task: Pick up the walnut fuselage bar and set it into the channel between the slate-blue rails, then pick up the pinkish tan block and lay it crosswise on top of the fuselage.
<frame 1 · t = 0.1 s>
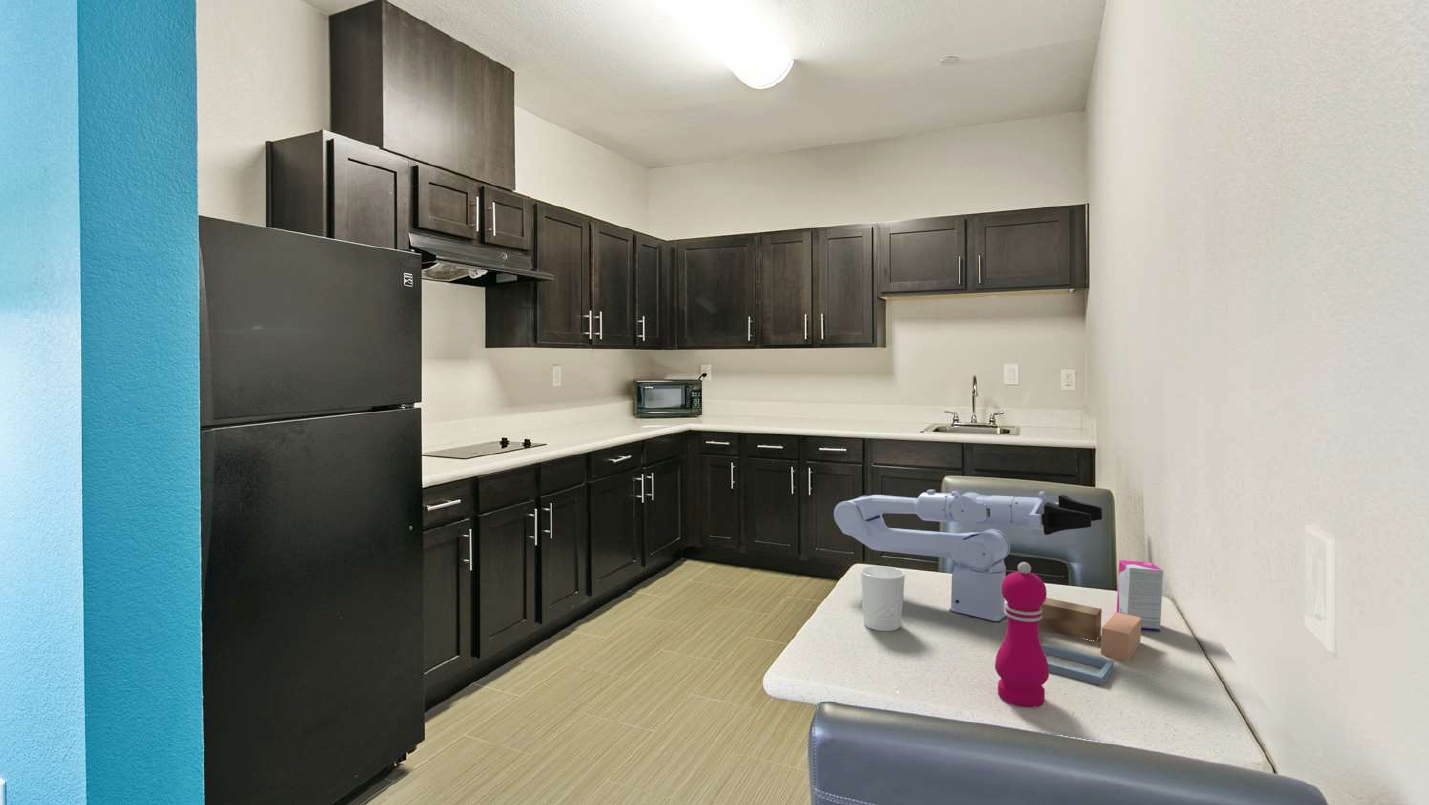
hand: (1096, 517, 126), 22 cm above the table, tool horizontal, fingers open, 7 cm apart
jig: (1059, 664, 116), on the table
pepper mill: (1020, 699, 104), on the table
fuselage: (1064, 632, 130), on the table
pinkish tan block: (1120, 649, 122), on the table
supplement box: (1137, 626, 133), on the table
white cup: (882, 626, 133), on the table
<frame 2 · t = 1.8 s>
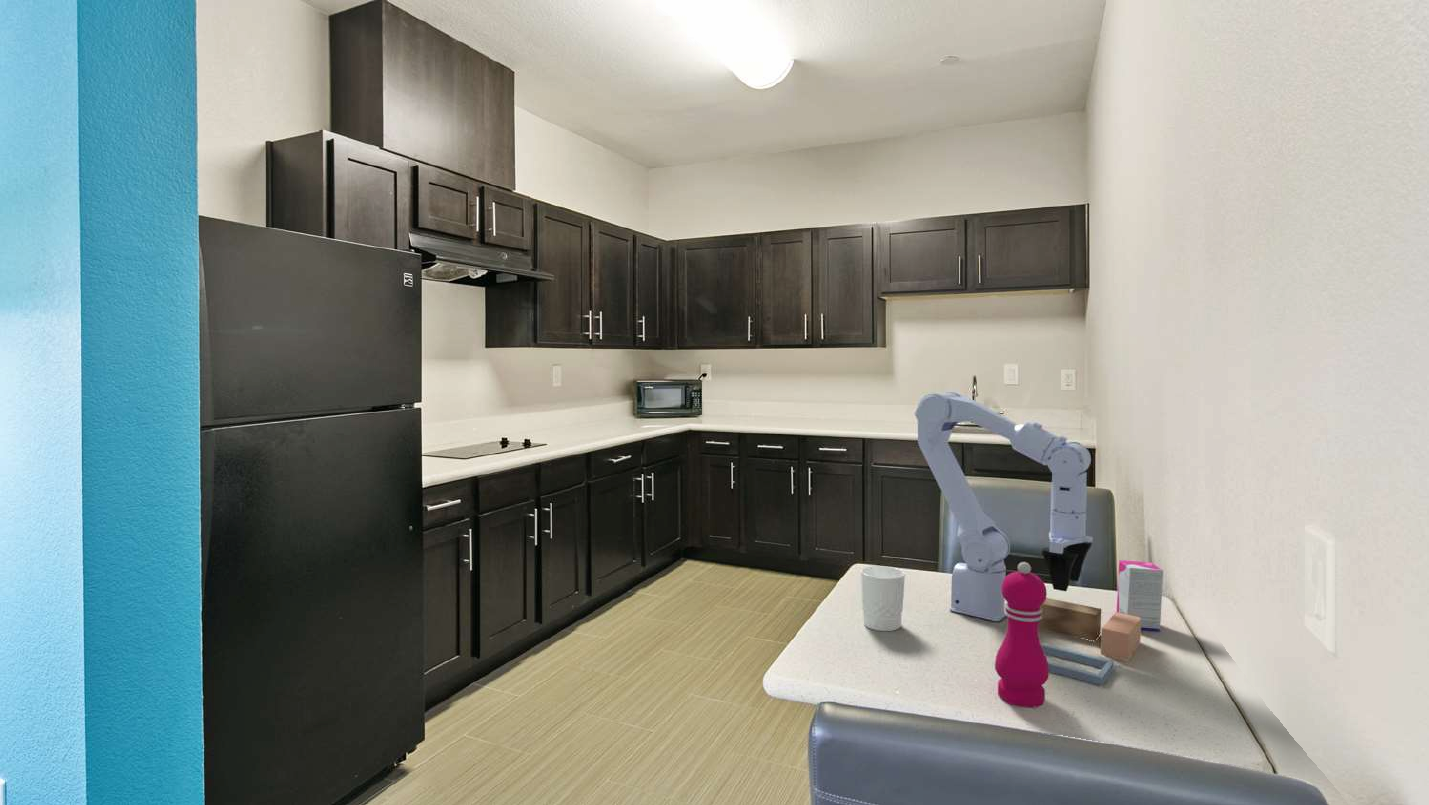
hand: (1066, 584, 130), 9 cm above the table, tool pointing down, fingers open, 7 cm apart
nothing on the table moved.
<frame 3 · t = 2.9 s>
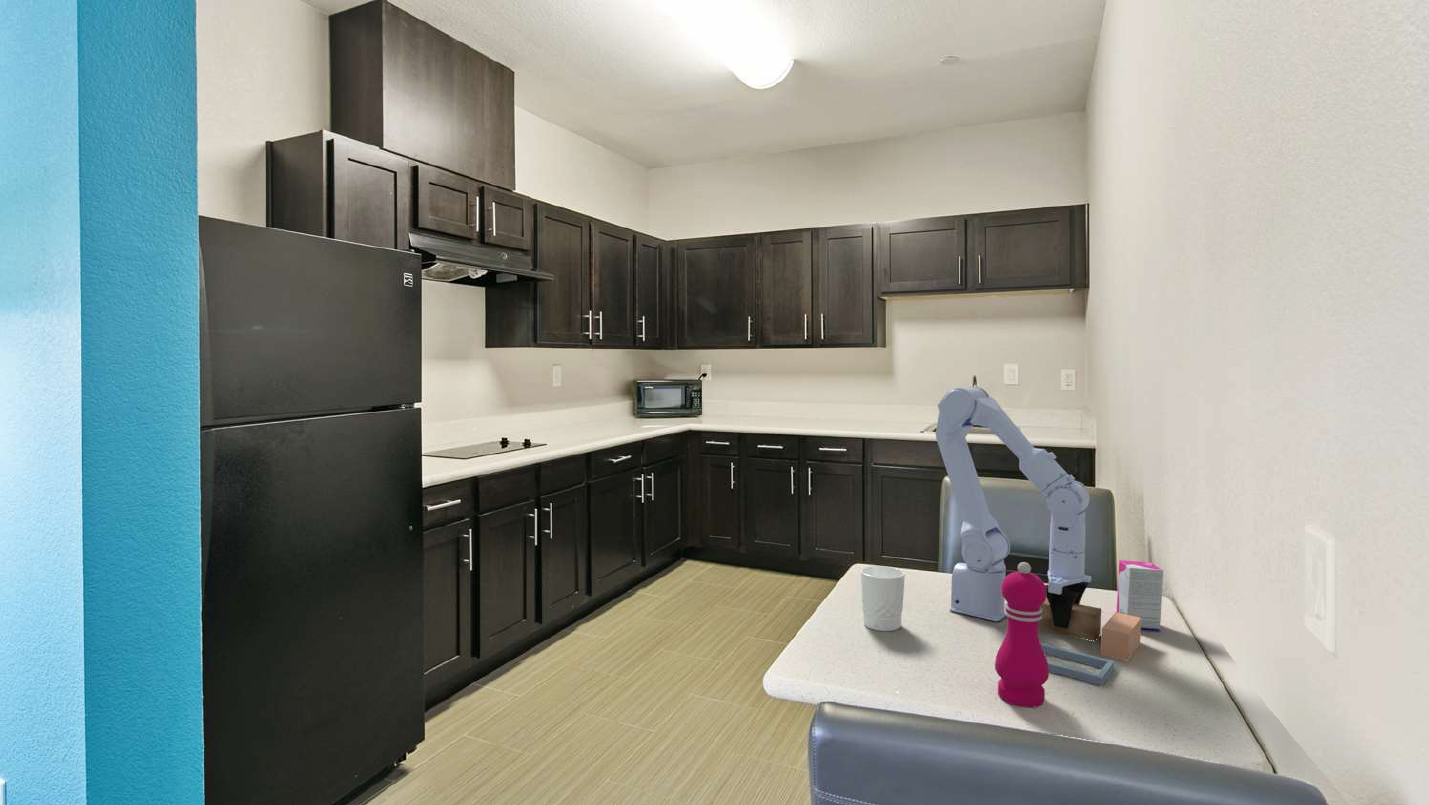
hand: (1064, 623, 130), 1 cm above the table, tool pointing down, fingers closed on fuselage, 4 cm apart
fuselage: (1064, 631, 130), on the table, touching gripper
everything else where it was.
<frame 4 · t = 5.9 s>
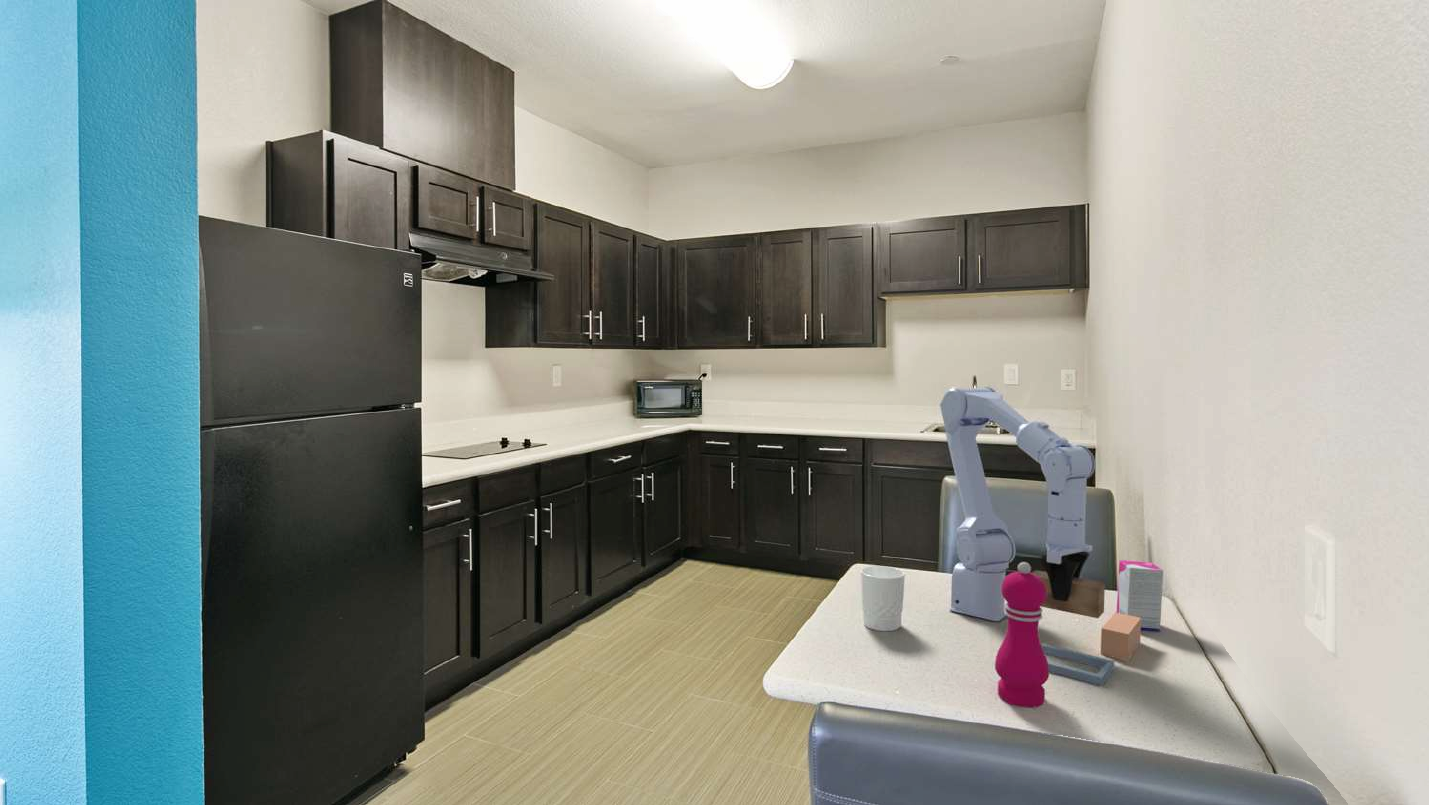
hand: (1064, 596, 122), 9 cm above the table, tool pointing down, fingers closed on fuselage, 4 cm apart
fuselage: (1065, 607, 122), point 7 cm above the table, touching gripper
everything else where it was.
when the fingers open (3 cm above the table, at t = 8.7 s): fuselage drops 1 cm, resting in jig.
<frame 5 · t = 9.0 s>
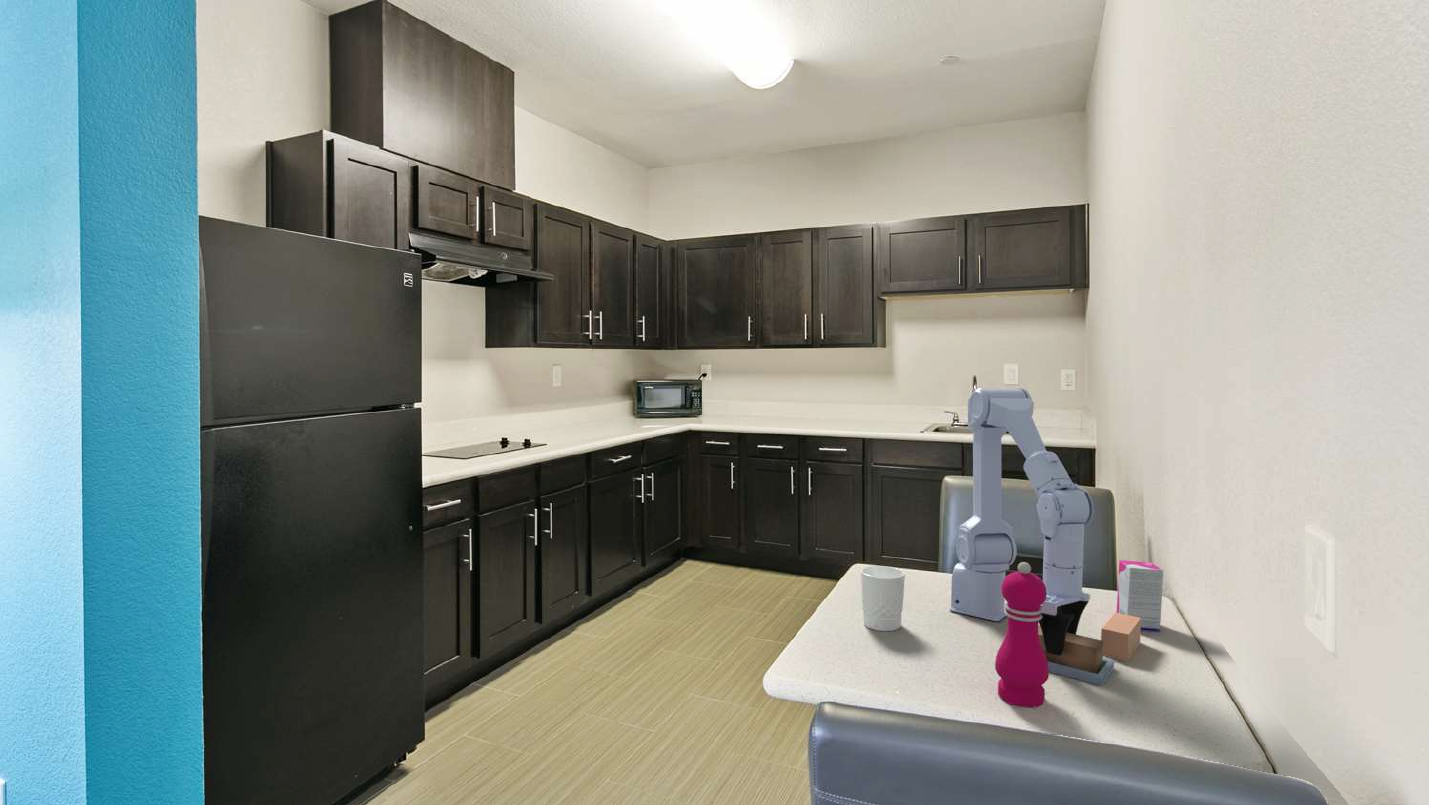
hand: (1060, 646, 116), 3 cm above the table, tool pointing down, fingers open, 6 cm apart
fuselage: (1061, 666, 116), resting in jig
everything else where it was.
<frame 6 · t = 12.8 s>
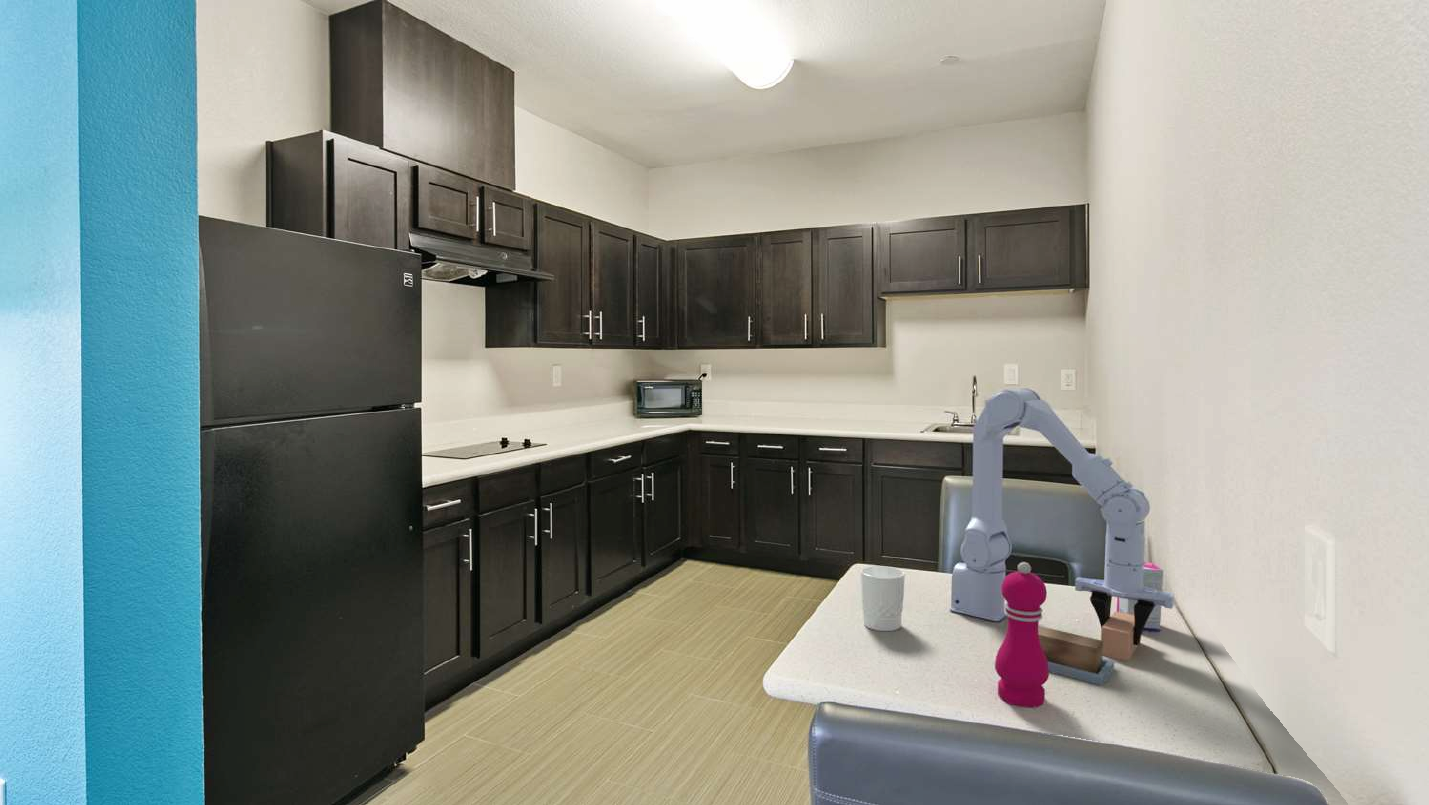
hand: (1121, 639, 122), 1 cm above the table, tool pointing down, fingers closed on pinkish tan block, 4 cm apart
pinkish tan block: (1120, 648, 122), on the table, touching gripper
everything else where it was.
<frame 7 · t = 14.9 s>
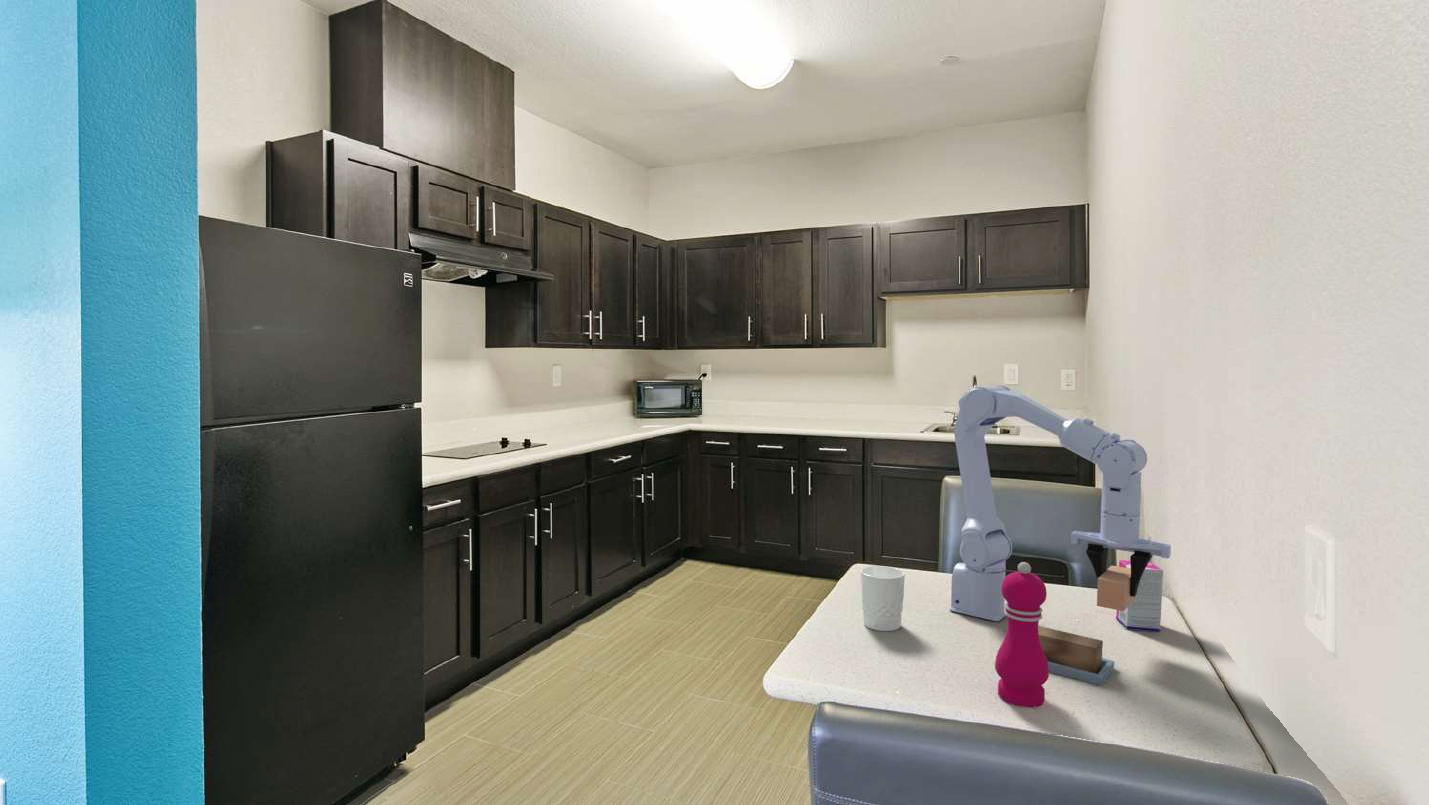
hand: (1117, 592, 121), 10 cm above the table, tool pointing down, fingers closed on pinkish tan block, 4 cm apart
pinkish tan block: (1117, 600, 121), point 8 cm above the table, touching gripper
everything else where it was.
when the fingers open (7 cm above the table, at t = 17.3 s): pinkish tan block drops 1 cm, resting on fuselage.
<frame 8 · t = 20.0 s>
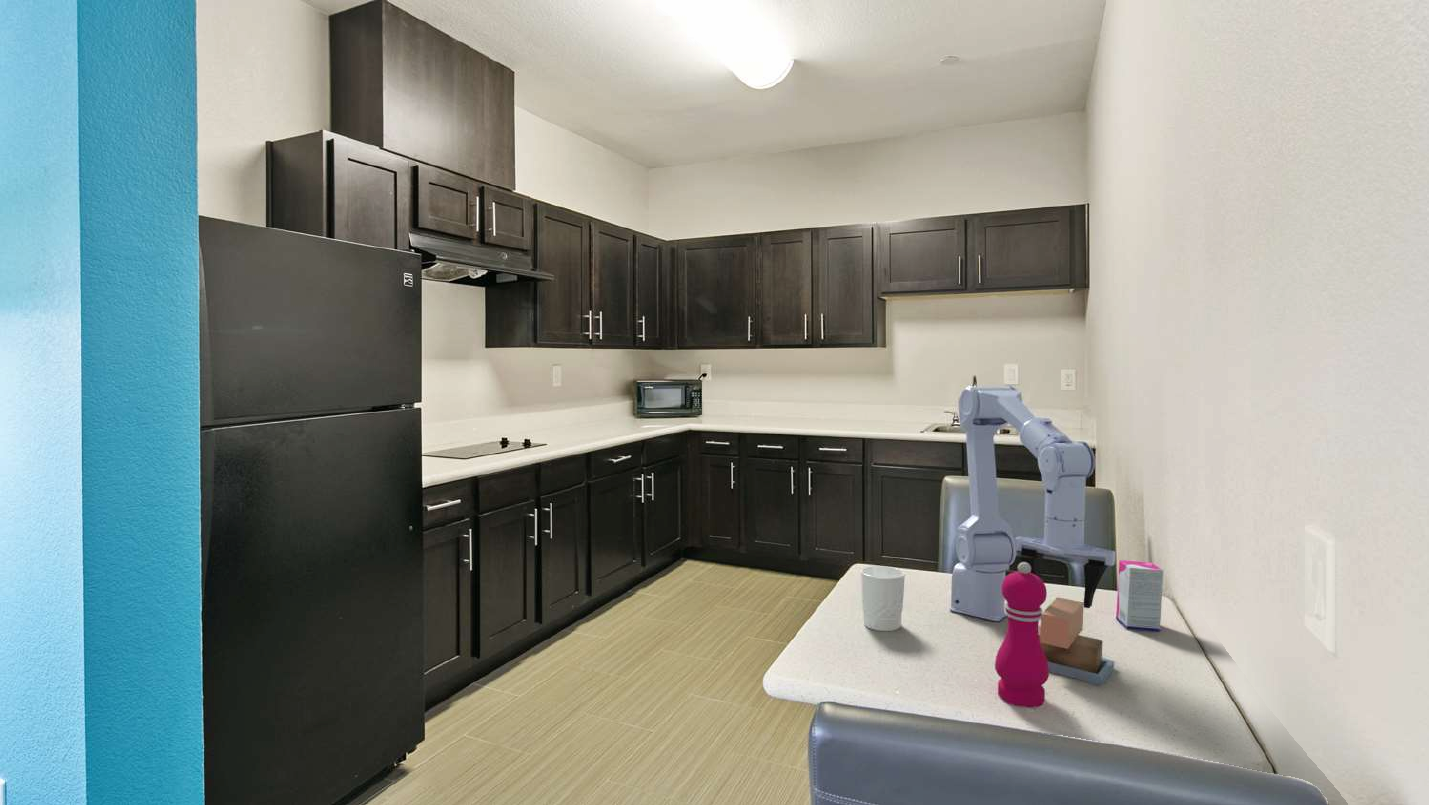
hand: (1061, 601, 115), 10 cm above the table, tool pointing down, fingers open, 7 cm apart
fuselage: (1060, 666, 116), resting in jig, touching pinkish tan block
pinkish tan block: (1061, 636, 115), point 5 cm above the table, touching fuselage
everything else where it was.
at the end: fuselage 0.1 cm off-centre on the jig, point 0.0 cm above the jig's base; pinkish tan block 0.2 cm off-centre on the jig, point 4.7 cm above the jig's base; pinkish tan block tilted 0° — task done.
